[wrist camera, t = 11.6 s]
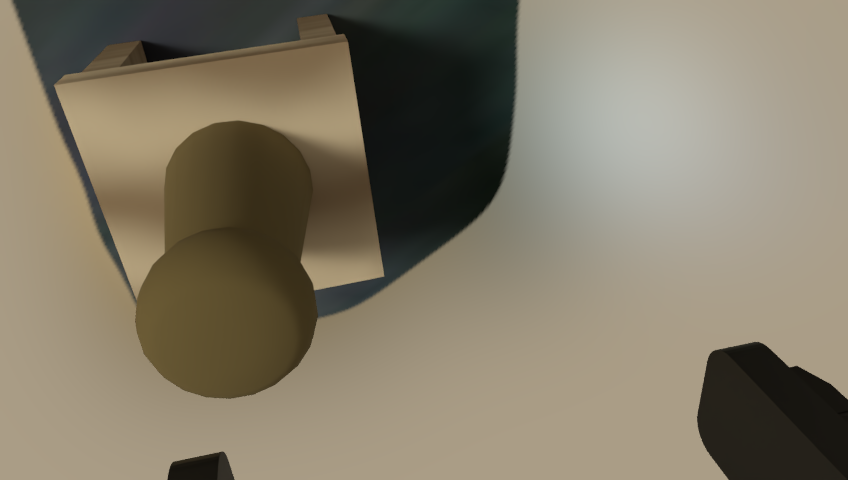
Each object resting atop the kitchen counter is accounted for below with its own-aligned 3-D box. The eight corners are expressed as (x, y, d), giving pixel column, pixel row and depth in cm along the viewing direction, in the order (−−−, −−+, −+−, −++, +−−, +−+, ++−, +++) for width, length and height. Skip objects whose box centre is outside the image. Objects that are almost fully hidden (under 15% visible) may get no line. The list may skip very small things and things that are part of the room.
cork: (333, 148, 28) (367, 286, 18) (287, 267, 30) (295, 445, 20) (185, 99, 26) (138, 226, 16) (147, 230, 28) (86, 411, 18)
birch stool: (101, 40, 31) (53, 85, 24) (330, 7, 33) (347, 41, 26) (168, 240, 37) (145, 323, 30) (363, 205, 38) (384, 276, 31)
